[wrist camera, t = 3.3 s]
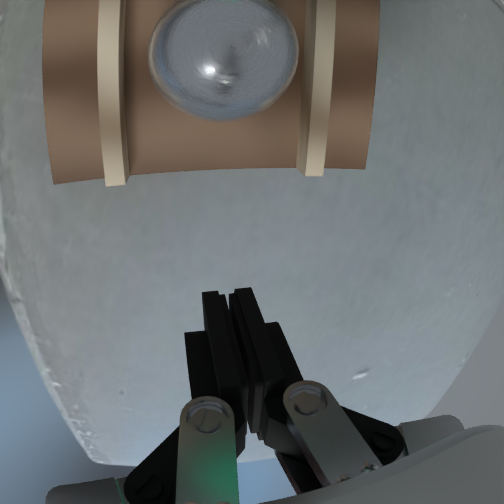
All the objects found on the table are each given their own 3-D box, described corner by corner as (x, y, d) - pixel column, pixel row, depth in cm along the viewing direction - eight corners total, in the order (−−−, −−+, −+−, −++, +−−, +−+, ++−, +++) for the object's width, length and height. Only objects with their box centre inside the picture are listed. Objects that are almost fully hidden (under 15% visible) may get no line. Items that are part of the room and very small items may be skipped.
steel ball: (155, 4, 11) (142, -33, 6) (277, 6, 13) (326, -23, 8) (154, 116, 15) (140, 139, 10) (272, 113, 16) (317, 135, 11)
